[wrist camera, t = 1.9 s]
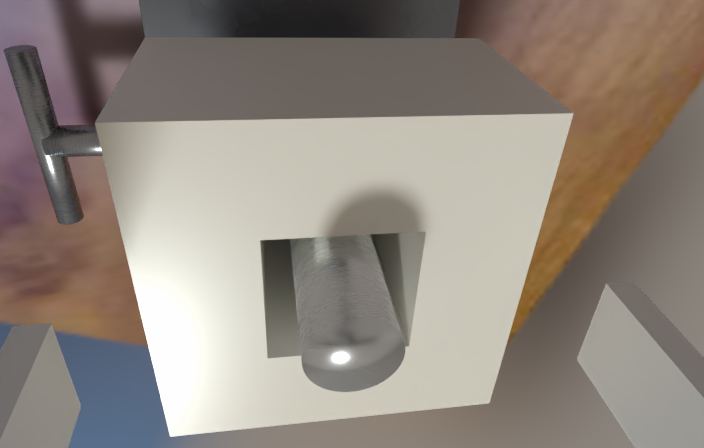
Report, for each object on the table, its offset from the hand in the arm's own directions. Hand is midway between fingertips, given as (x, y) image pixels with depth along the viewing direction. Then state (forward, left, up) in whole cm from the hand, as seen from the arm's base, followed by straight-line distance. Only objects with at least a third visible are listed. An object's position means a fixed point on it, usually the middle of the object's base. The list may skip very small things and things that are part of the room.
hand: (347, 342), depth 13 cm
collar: (0, 0, -7) cm, 7 cm away
